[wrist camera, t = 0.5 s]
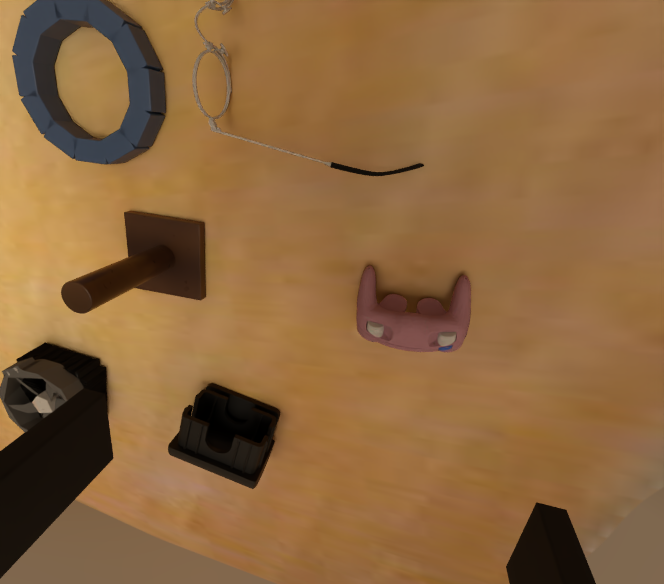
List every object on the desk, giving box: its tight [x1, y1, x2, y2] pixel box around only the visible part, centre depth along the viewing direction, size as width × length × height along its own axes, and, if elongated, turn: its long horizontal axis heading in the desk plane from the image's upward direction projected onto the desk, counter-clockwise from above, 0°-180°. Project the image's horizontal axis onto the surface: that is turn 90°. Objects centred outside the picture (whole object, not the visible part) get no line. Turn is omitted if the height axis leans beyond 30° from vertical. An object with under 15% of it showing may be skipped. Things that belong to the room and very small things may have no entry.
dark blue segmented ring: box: [12, 0, 166, 164], centre depth 34 cm, size 13×13×2 cm
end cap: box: [168, 383, 280, 489], centre depth 43 cm, size 10×7×7 cm
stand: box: [61, 211, 206, 313], centre depth 35 cm, size 8×8×12 cm
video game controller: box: [357, 265, 471, 352], centre depth 34 cm, size 10×5×7 cm, turn 88°
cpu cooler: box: [0, 343, 108, 432], centre depth 47 cm, size 10×6×10 cm
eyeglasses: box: [193, 0, 424, 176], centre depth 28 cm, size 16×19×5 cm
